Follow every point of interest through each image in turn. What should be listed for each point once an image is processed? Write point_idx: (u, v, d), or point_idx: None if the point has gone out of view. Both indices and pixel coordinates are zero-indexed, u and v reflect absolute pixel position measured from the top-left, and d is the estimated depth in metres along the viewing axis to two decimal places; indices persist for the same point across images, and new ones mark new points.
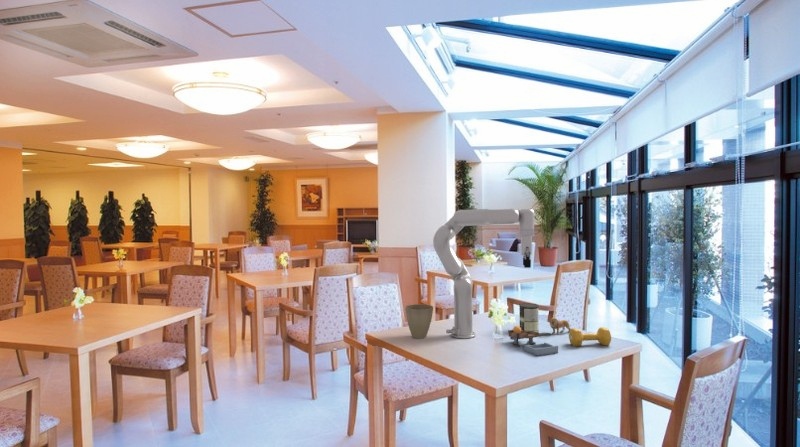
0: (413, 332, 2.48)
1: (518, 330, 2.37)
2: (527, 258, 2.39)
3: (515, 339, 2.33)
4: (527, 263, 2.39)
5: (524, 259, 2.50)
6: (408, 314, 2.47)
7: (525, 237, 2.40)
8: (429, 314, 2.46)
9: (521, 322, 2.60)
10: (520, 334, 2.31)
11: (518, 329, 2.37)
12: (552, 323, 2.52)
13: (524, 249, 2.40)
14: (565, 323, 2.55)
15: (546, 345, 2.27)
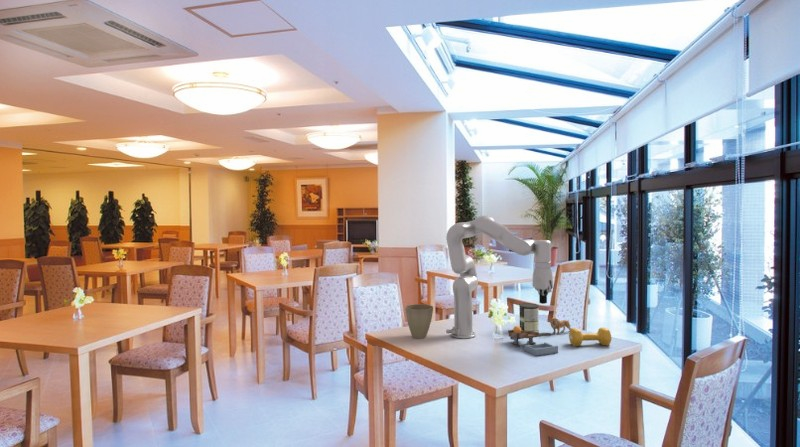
0: (413, 332, 2.48)
1: (518, 330, 2.37)
2: (545, 294, 2.29)
3: (515, 339, 2.33)
4: (545, 299, 2.30)
5: None
6: (408, 314, 2.47)
7: (547, 270, 2.26)
8: (429, 314, 2.46)
9: (521, 322, 2.60)
10: (520, 334, 2.31)
11: (518, 329, 2.37)
12: (553, 323, 2.52)
13: None
14: (566, 323, 2.56)
15: (546, 345, 2.27)
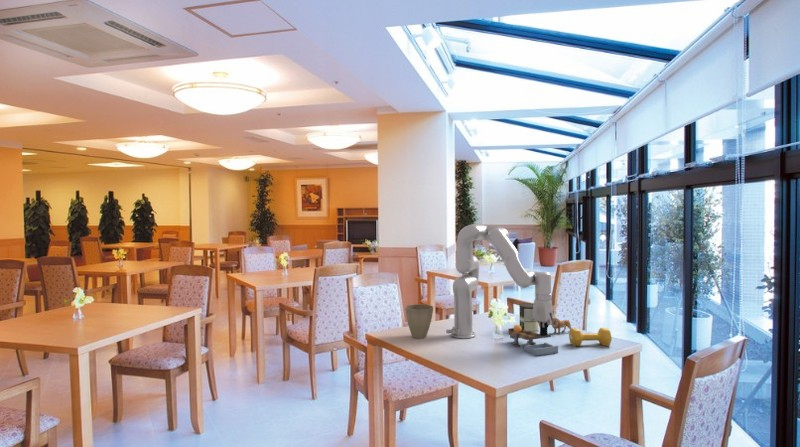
0: (413, 332, 2.48)
1: (518, 329, 2.37)
2: (546, 326, 2.29)
3: (515, 339, 2.33)
4: (545, 331, 2.30)
5: None
6: (408, 314, 2.47)
7: (548, 303, 2.27)
8: (429, 314, 2.46)
9: (521, 322, 2.60)
10: (520, 335, 2.31)
11: (518, 328, 2.37)
12: (553, 323, 2.52)
13: (547, 320, 2.27)
14: (566, 323, 2.56)
15: (546, 345, 2.27)
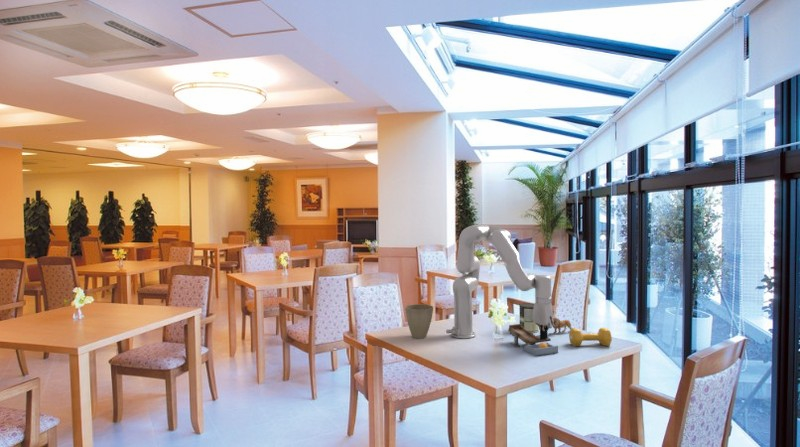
0: (413, 332, 2.48)
1: (541, 343, 2.21)
2: (546, 329, 2.29)
3: (515, 339, 2.33)
4: (545, 334, 2.30)
5: None
6: (408, 314, 2.47)
7: (548, 306, 2.27)
8: (429, 314, 2.46)
9: (521, 322, 2.60)
10: (520, 336, 2.31)
11: (540, 343, 2.22)
12: (554, 323, 2.52)
13: None
14: (567, 323, 2.56)
15: None
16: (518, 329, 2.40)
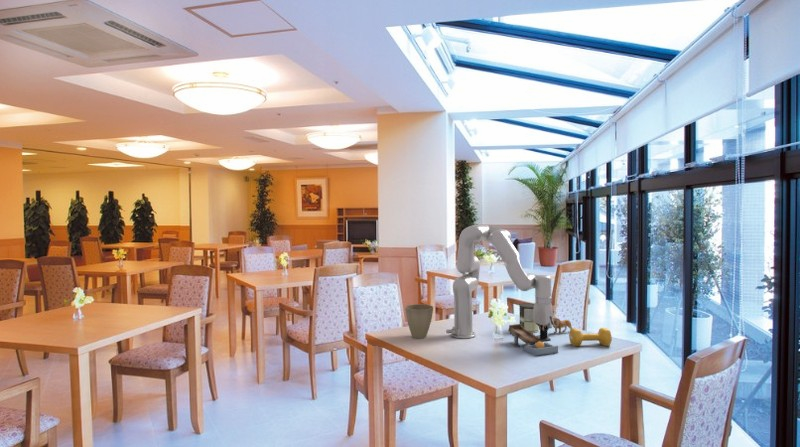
0: (413, 332, 2.48)
1: None
2: (546, 329, 2.29)
3: (515, 339, 2.33)
4: (545, 334, 2.30)
5: None
6: (408, 314, 2.47)
7: (548, 306, 2.27)
8: (429, 314, 2.46)
9: (521, 322, 2.60)
10: (520, 336, 2.31)
11: None
12: (554, 323, 2.52)
13: None
14: (567, 323, 2.56)
15: (546, 345, 2.27)
16: (518, 329, 2.40)
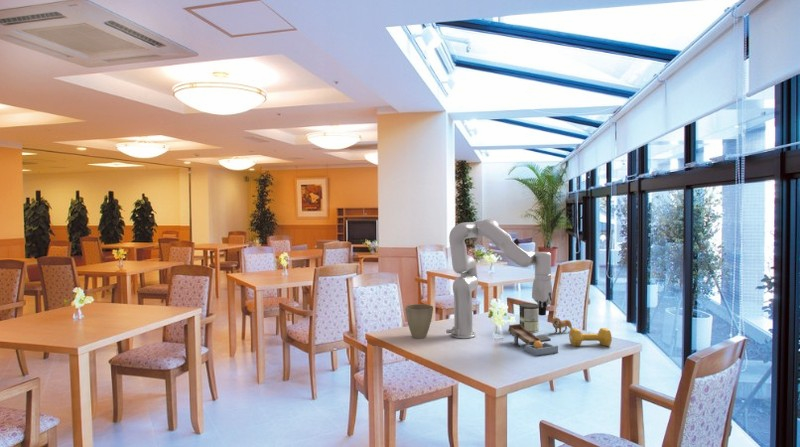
0: (413, 332, 2.48)
1: None
2: (545, 306, 2.29)
3: (515, 339, 2.33)
4: (544, 311, 2.30)
5: None
6: (408, 314, 2.47)
7: (547, 282, 2.26)
8: (429, 314, 2.46)
9: (521, 322, 2.60)
10: (520, 336, 2.31)
11: None
12: (554, 323, 2.53)
13: (545, 300, 2.27)
14: (567, 323, 2.56)
15: (546, 345, 2.27)
16: (518, 329, 2.40)
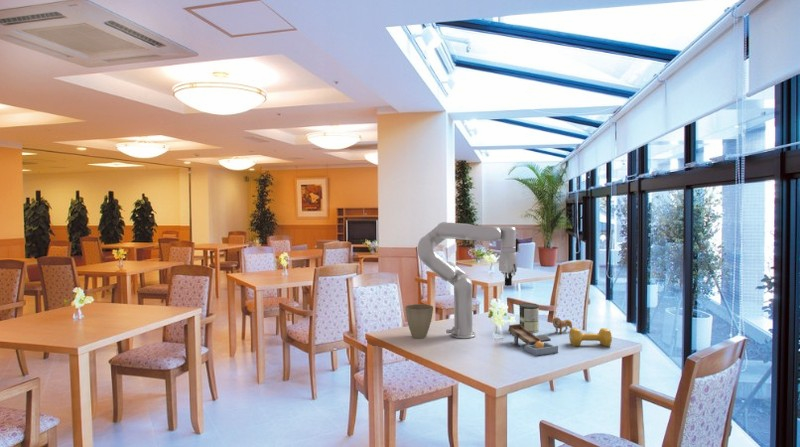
0: (413, 332, 2.48)
1: None
2: (510, 277, 2.46)
3: (515, 339, 2.33)
4: (509, 281, 2.47)
5: None
6: (408, 314, 2.47)
7: (512, 254, 2.44)
8: (429, 314, 2.46)
9: (521, 322, 2.60)
10: (520, 336, 2.31)
11: None
12: (555, 322, 2.53)
13: None
14: (568, 322, 2.57)
15: (546, 345, 2.27)
16: (518, 329, 2.40)
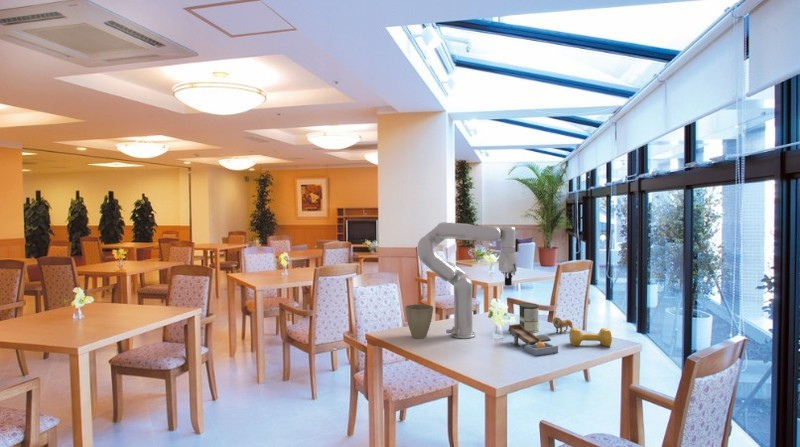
0: (413, 332, 2.48)
1: None
2: (510, 276, 2.47)
3: (515, 339, 2.33)
4: (509, 281, 2.47)
5: None
6: (408, 314, 2.47)
7: (511, 254, 2.44)
8: (429, 314, 2.46)
9: (521, 322, 2.60)
10: (520, 336, 2.31)
11: None
12: (555, 322, 2.53)
13: (510, 271, 2.44)
14: (568, 322, 2.57)
15: (546, 345, 2.27)
16: (518, 329, 2.40)
